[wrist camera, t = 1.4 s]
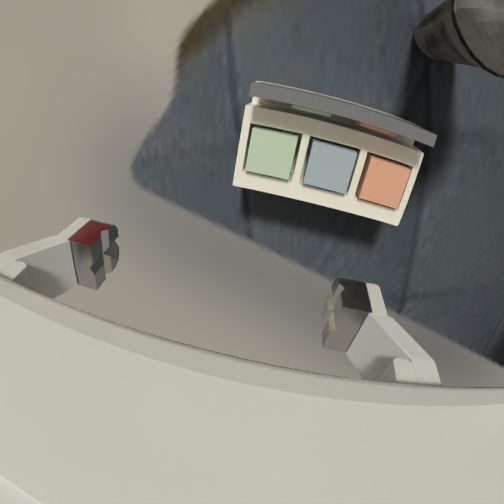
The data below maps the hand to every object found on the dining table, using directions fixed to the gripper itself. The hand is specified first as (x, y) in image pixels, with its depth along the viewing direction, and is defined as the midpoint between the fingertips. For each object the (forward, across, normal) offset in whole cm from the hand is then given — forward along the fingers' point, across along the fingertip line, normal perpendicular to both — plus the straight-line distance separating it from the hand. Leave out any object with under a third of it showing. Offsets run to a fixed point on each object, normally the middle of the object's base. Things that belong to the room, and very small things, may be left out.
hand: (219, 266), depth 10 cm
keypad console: (+22, -5, -1) cm, 22 cm away
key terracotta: (+18, -10, 0) cm, 20 cm away
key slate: (+18, -5, 0) cm, 19 cm away
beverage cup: (+22, -13, -15) cm, 30 cm away
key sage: (+18, 0, 0) cm, 18 cm away
